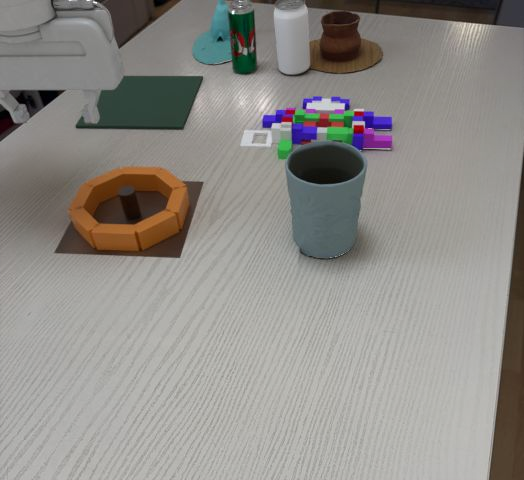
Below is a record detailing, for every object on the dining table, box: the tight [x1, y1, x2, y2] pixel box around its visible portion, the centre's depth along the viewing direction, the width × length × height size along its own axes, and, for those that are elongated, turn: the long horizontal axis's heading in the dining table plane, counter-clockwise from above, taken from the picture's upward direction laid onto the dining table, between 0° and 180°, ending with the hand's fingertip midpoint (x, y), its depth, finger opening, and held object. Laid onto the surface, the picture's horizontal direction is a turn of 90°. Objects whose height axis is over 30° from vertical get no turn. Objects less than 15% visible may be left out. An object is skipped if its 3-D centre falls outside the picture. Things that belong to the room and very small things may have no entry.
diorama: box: [191, 0, 232, 65], centre depth 116 cm, size 12×20×9 cm, turn 173°
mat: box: [74, 75, 204, 130], centre depth 104 cm, size 20×20×1 cm
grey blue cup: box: [284, 141, 368, 258], centre depth 71 cm, size 10×10×12 cm
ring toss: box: [54, 180, 205, 259], centre depth 79 cm, size 18×18×5 cm
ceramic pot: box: [308, 10, 384, 75], centre depth 111 cm, size 18×18×7 cm
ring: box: [67, 166, 190, 251], centre depth 79 cm, size 16×16×3 cm
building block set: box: [239, 95, 393, 160], centre depth 92 cm, size 25×20×4 cm
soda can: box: [228, 0, 258, 75], centre depth 106 cm, size 5×5×12 cm
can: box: [273, 0, 310, 76], centre depth 105 cm, size 6×6×12 cm
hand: (57, 121), depth 69 cm, fingers open, 8 cm apart
